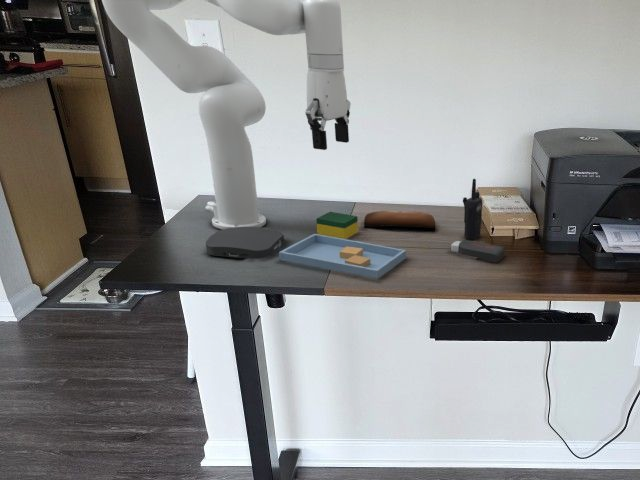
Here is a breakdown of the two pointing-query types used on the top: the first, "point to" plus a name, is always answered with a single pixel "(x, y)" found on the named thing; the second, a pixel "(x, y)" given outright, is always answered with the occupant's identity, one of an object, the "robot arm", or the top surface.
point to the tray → (327, 256)
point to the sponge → (337, 225)
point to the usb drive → (479, 250)
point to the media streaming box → (245, 242)
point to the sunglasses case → (399, 219)
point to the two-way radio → (472, 214)
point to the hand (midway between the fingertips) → (331, 145)
